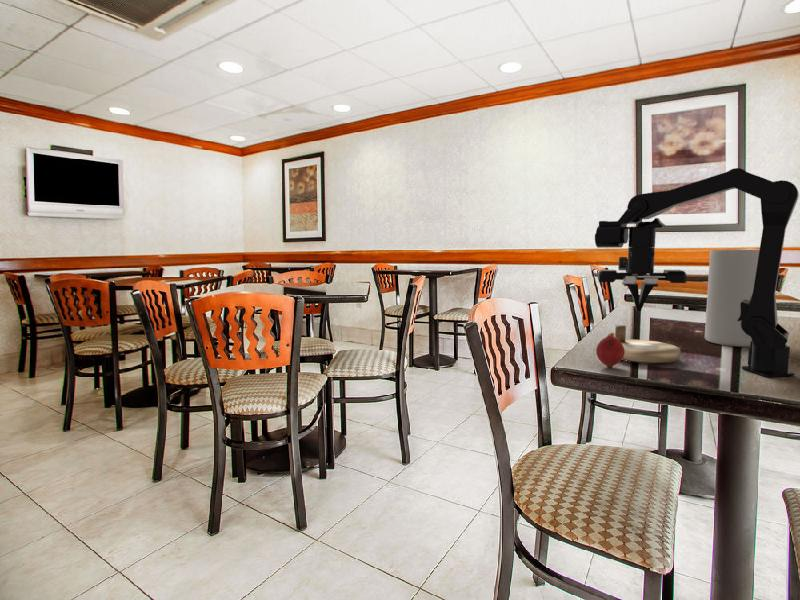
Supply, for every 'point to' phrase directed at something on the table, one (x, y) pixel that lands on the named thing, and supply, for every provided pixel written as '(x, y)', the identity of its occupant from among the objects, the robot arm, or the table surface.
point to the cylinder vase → (729, 295)
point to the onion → (610, 350)
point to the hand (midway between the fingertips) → (638, 311)
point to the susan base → (647, 362)
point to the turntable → (646, 349)
